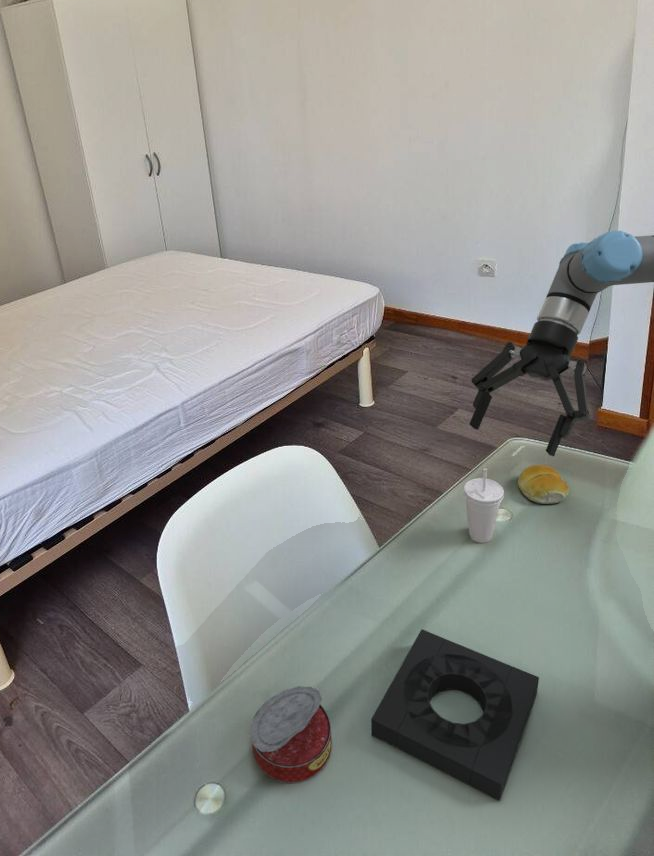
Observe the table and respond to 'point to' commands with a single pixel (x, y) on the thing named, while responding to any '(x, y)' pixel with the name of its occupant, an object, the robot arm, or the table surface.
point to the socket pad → (452, 742)
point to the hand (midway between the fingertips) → (510, 440)
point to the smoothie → (482, 506)
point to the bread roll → (542, 484)
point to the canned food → (292, 735)
